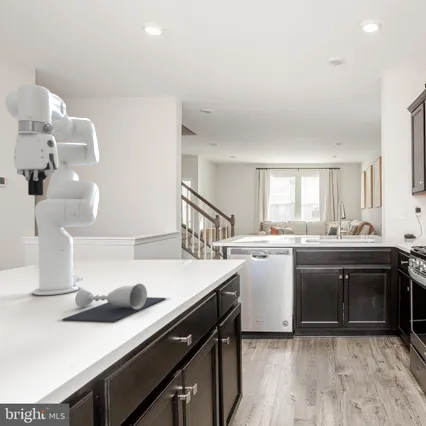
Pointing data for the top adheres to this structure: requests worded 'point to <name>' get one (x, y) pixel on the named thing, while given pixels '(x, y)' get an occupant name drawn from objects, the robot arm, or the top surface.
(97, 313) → the mat
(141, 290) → the chalice
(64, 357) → the top surface
